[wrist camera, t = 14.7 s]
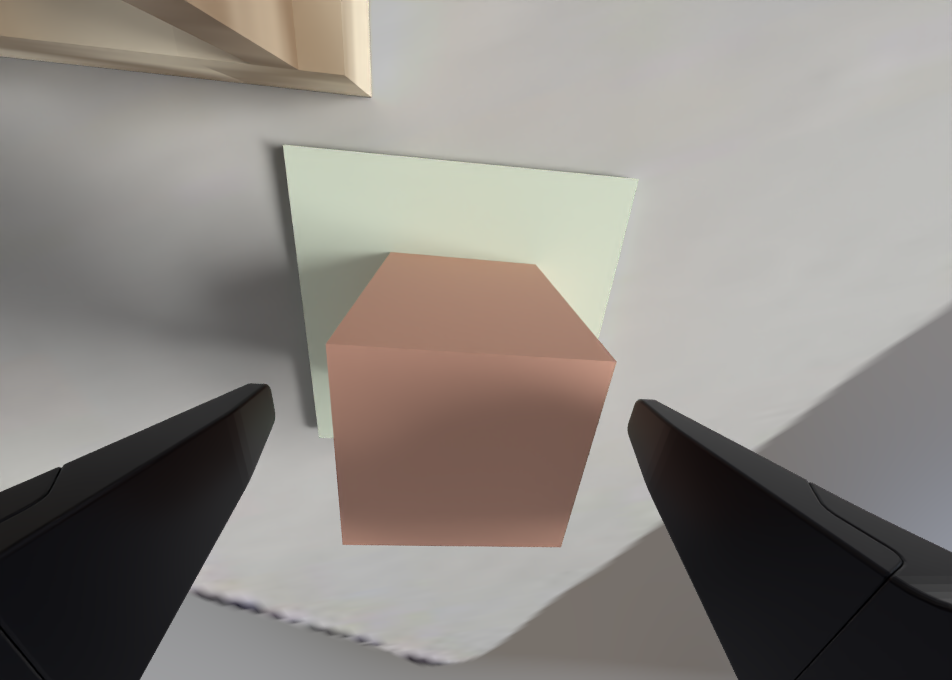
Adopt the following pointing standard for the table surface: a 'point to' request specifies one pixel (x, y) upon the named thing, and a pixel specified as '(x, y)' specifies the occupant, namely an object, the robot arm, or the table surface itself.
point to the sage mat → (443, 230)
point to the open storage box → (201, 39)
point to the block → (462, 405)
